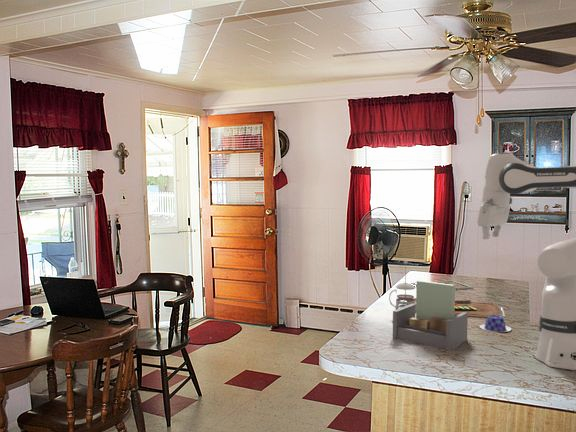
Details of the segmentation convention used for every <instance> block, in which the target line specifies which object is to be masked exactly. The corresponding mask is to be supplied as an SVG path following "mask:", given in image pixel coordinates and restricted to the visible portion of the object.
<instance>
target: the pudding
mask: <svg viewBox="0 0 576 432" xmlns="http://www.w3.org/2000/svg"><path fill="white" fill-rule="evenodd" d="M479 328H480V329H481V330H484V331H488V332H492V333H502V332H503V333H506V332H510V331H511V330H512V327H510V326H507V325H506V323H505V319H504V316H497V315H490V316H488V317H487V318H486V321H485V323H484V324H483V323H482V324H480V325H479Z"/></svg>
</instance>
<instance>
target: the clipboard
mask: <svg viewBox="0 0 576 432" xmlns="http://www.w3.org/2000/svg"><path fill="white" fill-rule="evenodd" d="M436 282H437V283H438V282H455V283H457V284H460V285H462V286H465V287H460V288H455V289H465V290H473V289H474V287H473V286H471V285H468V284H467V283H462V282H458V281H456V280H442V281H441V280H439V281H436ZM415 283H416V282H411V283H410V284H413V285H416V286H417V284H415Z"/></svg>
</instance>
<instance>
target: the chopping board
mask: <svg viewBox="0 0 576 432" xmlns="http://www.w3.org/2000/svg"><path fill="white" fill-rule="evenodd" d="M412 299H414V300H415V304H416V297H414V298H412ZM402 302H407V301H405V300H402ZM401 305H404V304H401ZM400 308H402V307H400ZM499 310H501V313H502V314H500V311H499ZM463 312H467V313H468V318H477V319H487V317H488V316H490V315H497V316H501V317H506V314H505V311H504V307H503V306H501V307H499V306H498V304H496V303H493V302H492V303H491V302H479V301H478V302H477V301H472V300H469V299H468V300H467V299H466V300H463V299H462V300H461V299H460V300H459V299H458V300H455V316H457V315H459V314H461V313H463ZM415 314H416V310H415Z"/></svg>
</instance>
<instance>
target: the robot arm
mask: <svg viewBox="0 0 576 432" xmlns="http://www.w3.org/2000/svg"><path fill="white" fill-rule="evenodd" d="M484 180H485V184H484V187H483V190H482V199H481V202H482V203H483V204H481V206H480V207H479V213H478V218H477V226H478V227H481V229H482V239H483V240H489V239H490V237H491V236H490V230H491V229H490V228H491V227H494V228H493V231H492V237H495V238H498V237H499V235H500V232H501V229H502V226H503V225H506V224H507V222H508V219H509V215H510V209H511V205H512V204H513V197H511V195H517V194H525V193H531V192H534V191H536V190H537V189H540V188H542V189H543V188H544V189H545V188H566V189H573V190H576V164H573V165H567V166H558V167H557V166H556V167H555V166H553V167H537V166H535V165H532V164H531V163H528V162H525V161H523V160H521V159H520V158H518V157H516V156H515V154H513V153H511V152H498V153H493V154H492V155H490V156H489V158H488V160H487V164H486V168H485V173H484ZM537 267H538V269H539V271H540V273H542V274H543V275H544V276H545V280H544V284H543V289H542V294H541V315H540V316H539V322H538V323H539V340H538V345H537V348H536V352H535V354H534V357H535V359H537V360H538V361H540V362H543V364H545V365H546V366H548V367H551V368H557V369H565V370H571V371H576V237H574V238H570V239H566V240H562V241H558V242H555V243H552V244H550V245H548V246H546V247H544V248H543V249H542V251H540V254H539V255H538V258H537Z"/></svg>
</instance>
